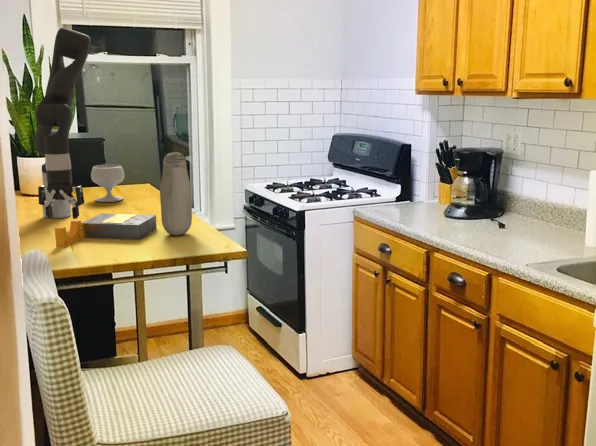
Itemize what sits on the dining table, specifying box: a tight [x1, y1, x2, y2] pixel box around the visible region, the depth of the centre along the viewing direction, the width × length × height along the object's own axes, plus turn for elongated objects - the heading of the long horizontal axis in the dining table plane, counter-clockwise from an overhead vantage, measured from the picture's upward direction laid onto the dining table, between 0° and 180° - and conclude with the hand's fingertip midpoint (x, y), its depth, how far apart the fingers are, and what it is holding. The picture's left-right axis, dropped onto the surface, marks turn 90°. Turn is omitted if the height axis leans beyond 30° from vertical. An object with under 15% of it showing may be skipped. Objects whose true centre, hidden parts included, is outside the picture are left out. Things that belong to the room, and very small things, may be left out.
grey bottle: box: [159, 151, 193, 236], centre depth 216 cm, size 10×10×28 cm
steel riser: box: [81, 212, 158, 241], centre depth 220 cm, size 20×16×5 cm
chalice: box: [90, 163, 126, 203], centre depth 279 cm, size 14×14×15 cm
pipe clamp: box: [54, 219, 83, 249], centre depth 207 cm, size 12×4×6 cm, turn 171°
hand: (62, 218), depth 206 cm, fingers open, 8 cm apart
